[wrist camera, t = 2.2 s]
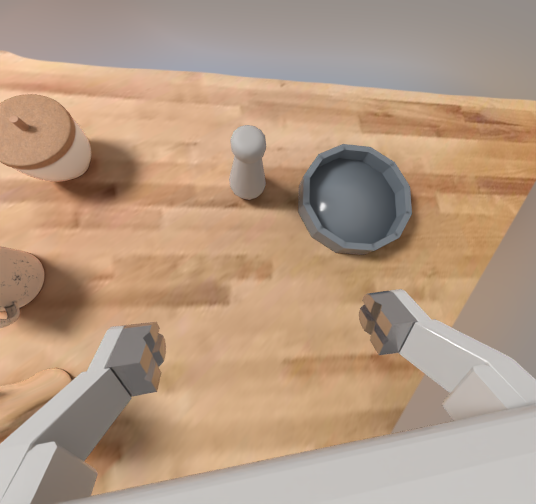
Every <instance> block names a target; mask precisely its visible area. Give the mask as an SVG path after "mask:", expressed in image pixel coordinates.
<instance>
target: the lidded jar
mask: <svg viewBox="0 0 536 504" xmlns="http://www.w3.org/2000/svg"><path fill="white" fill-rule="evenodd" d="M90 160H91V146H90V143H89V141H88V138H87V136H86V135H85V133H84V131H83V130H82V128H81V127H80V126H79V124H78V123H77V122H76V121H75V120H74V119H73V118H72V117H71V115H70V114H69V112H68V111H67V110H66V109H65V108H64V107H63V106H62V105H61V104H59V103H58V102H57V101H55V100H53V99H51V98H48V97H45V96H41V95H34V94H28V95H19V96H15V97H12V98H9V99H7V100H4V101H3V102H1V103H0V162H1V163H3V164H5V165H7V166H9V167H12V168H14V169H15V170H17V171H19V172H21V173H24V174H26V175H28V176H31V177H34V178H37V179H40V180H45V181H54V182H58V181H67V180H70V179H75V178H77V177H79V176H81V175H82V174H84V173H85V172H86V170H87V169H88V167H89V164H90Z"/></svg>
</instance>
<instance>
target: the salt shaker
mask: <svg viewBox="0 0 536 504" xmlns="http://www.w3.org/2000/svg"><path fill="white" fill-rule="evenodd" d="M231 149H232V152H233V154H234V155H235V157H234V161H233V165H232V170H231V174H230V178H229V181H230V187H231V189H232V190H233V192H234V194H235V195H237V196H238V197H240V198H242V199H248V200H250V199H253V198H256V197H258V196H259V195H260V194H261V193H262V192H263V190H264V188H265V185H266V182H265V175H264V169H263V162H262V157H263V155H264V153H265V150H266V141H265V135H264V134H263V133H262V131H261V130H260V129H258V128H256V127H255V126H249V125H245V126H241V127H239V128H237V129H236V130H235V131H234V132H233V135H232V137H231Z"/></svg>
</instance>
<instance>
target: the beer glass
mask: <svg viewBox="0 0 536 504" xmlns="http://www.w3.org/2000/svg"><path fill="white" fill-rule="evenodd" d="M71 381H72V378H71V377H70V375H69V374H68V373H67V372H66V371H64V370H62V369H58V368H49V369H45V370H43V371H40V372H38V373H36V374H35V375H33V376H31V377H30V378H28V379H26V380H24V381H21V382H18V383H14V384H9V385H3V386H0V444H1V443H2V442H3V441H4V440H5V439H6V438H7V437H9V436H10V435H11V434H12V433H13V432H14V431H15V430H17V429H18V428H19V427H20V426H21V425H22V424H23V423H25V422H26V421H27V420H28V419H29V418H30V417H31V416H33V415H34V414H35V413H36V412H37V411H38V410H39V409H40V408H42V407H43V406H44V405H45V404H46V403H47V402H48V401H50V400H51V399H52V398H53V397H54V396H55V395H56V394H58V393H59V392H60V391H61V390H62V389H63V388H64V387H66V386H67V385H68V384H69V383H70V382H71Z"/></svg>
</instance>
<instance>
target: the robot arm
mask: <svg viewBox="0 0 536 504" xmlns="http://www.w3.org/2000/svg"><path fill="white" fill-rule="evenodd" d="M362 301H363V302H364V305H363V306H362V307H361V308H360V311H359V320H360V323H361V326H362V328H363V329H364V331H365V332H367V333H368V334H370V335H371V337H370V341H371V343H372V345H373V346H374V348H375V350H376V351H377V353H378V355H384V354H392V353H399V352H400V353H399V354H400V355H402V356H403V357H404V358H406V359H407V360H408V361H409V362H411V363H412V364H413V365H415V366H416V367H417V368H418V369H420V370H421V371H422V372H424V373H425V374H426V375H427V376H429V377H430V378H431V379H433V380H434V381H435V382H436V383H438V384H439V385H440V386H442V387H443V388H444V389H445V390H447V391H448V392H449V393H450V394H449V395H448V396H447V397H446V399H445V400H444V401H443V407H444V408H445V410H446V411H447V413H448V414H449V416H450V417H451V418H452V420H453V421H450V422H445V423H440V424H436V425H431V426H426V427H421V428H416V429H411V430H407V431H402V432H397V433H392V434H387V435H383V436H378V437H373V438H368V439H363V440H358V441H354V442H349V443H344V444H339V445H334V446H330V447H325V448H320V449H315V450H310V451H305V452H301V453H296V454H291V455H286V456H281V457H277V458H272V459H267V460H262V461H257V462H252V463H248V464H243V465H238V466H233V467H228V468H224V469H219V470H214V471H209V472H204V473H199V474H195V475H190V476H185V477H180V478H175V479H171V480H166V481H161V482H156V483H151V484H146V485H142V486H137V487H132V488H127V489H122V490H118V491H113V492H108V493H103V494H98V495H93V496H91V493H92V490H93V487H94V484H95V481H96V478H97V471H96V469H94V468H93V467H91V466H90V465H88V464H87V463H85V462H84V461H85V459H86V458H87V457H88V455H89V454H90V453H91V451H92V450H93V449H94V447H95V446H96V445H97V443H98V442H99V441H100V439H101V438H102V437H103V435H104V434H105V433H106V431H107V430H108V429H109V427H110V426H111V425H112V423H113V422H114V421H115V419H116V418H117V417H118V415H119V414H120V413H121V411H122V410H123V409H124V408H125V406H126V405H127V404H128V402H129V401H130V400H131V397H132V396H137V395H142V394H147V393H153V392H157V390H158V385H159V381H160V377H161V371H160V369H159V366H160V365H161V364H162V363H163V362H164V359H165V354H166V344H165V339H164V337H163V335H161V334H159V333H158V332H159V329H160V328H159V326H158V324H157V322H150V323H141V324H131V325H124V326H115V327H111V328H109V329H108V330H107V332H106V334H105V336H104V338H103V340H102V342H101V344H100V346H99V348H98V350H97V352H96V354H95V356H94V358H93V360H92V362H91V364H90V366H89V368H88V370H87V371H86V372H82V373H80V374H79V375H78V376H77V377H76V378H75V379H74V380H72V381H71V382H70V383H69V384H68V385H67V386H66V387H64V388H63V389H62V390H61V391H60V392H59V393H58V394H56V395H55V396H54V397H53V398H52V399H51V400H50V401H48V402H47V403H46V404H45V405H44V406H43V407H42V408H40V409H39V410H38V411H37V412H36V413H35V414H34V415H33V416H31V417H30V418H29V419H28V420H27V421H26V422H25V423H23V424H22V425H21V426H20V427H19V428H18V429H17V430H15V431H14V432H13V433H12V434H11V435H10V436H9V437H7V438H6V439H5V440H4V441H3V442H2V443H1V444H0V504H536V380H535V379H534V378H533V377H532V376H531V375H530V374H529V373H528V372H527V371H526V370H524V369H523V368H522V367H521V366H520V365H519V364H518V363H517V362H516V361H515V360H514V359H513V358H511V357H508V356H507V355H504V354H503V353H501V352H499V351H497V350H495V349H493V348H491V347H489V346H487V345H485V344H483V343H481V342H479V341H477V340H475V339H473V338H471V337H469V336H467V335H465V334H463V333H461V332H459V331H457V330H455V329H453V328H451V327H449V326H447V325H445V324H443V323H441V322H439V321H438V320H436V319H434V320H431V319H430V317H429V316H428V315H427V314H426V313H425V312H424V311H423V310H422V309H421V308H420V307H419V306H418V304H417V303H416V302H415V301H414V300H413V299H412V298H411V297H410V296H409V295H408V294H407V293H406V292H405V291H404V290H402V289H399V290H391V291H383V292H376V293H369V294H366V295H365V296H364V297H363V300H362Z"/></svg>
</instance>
